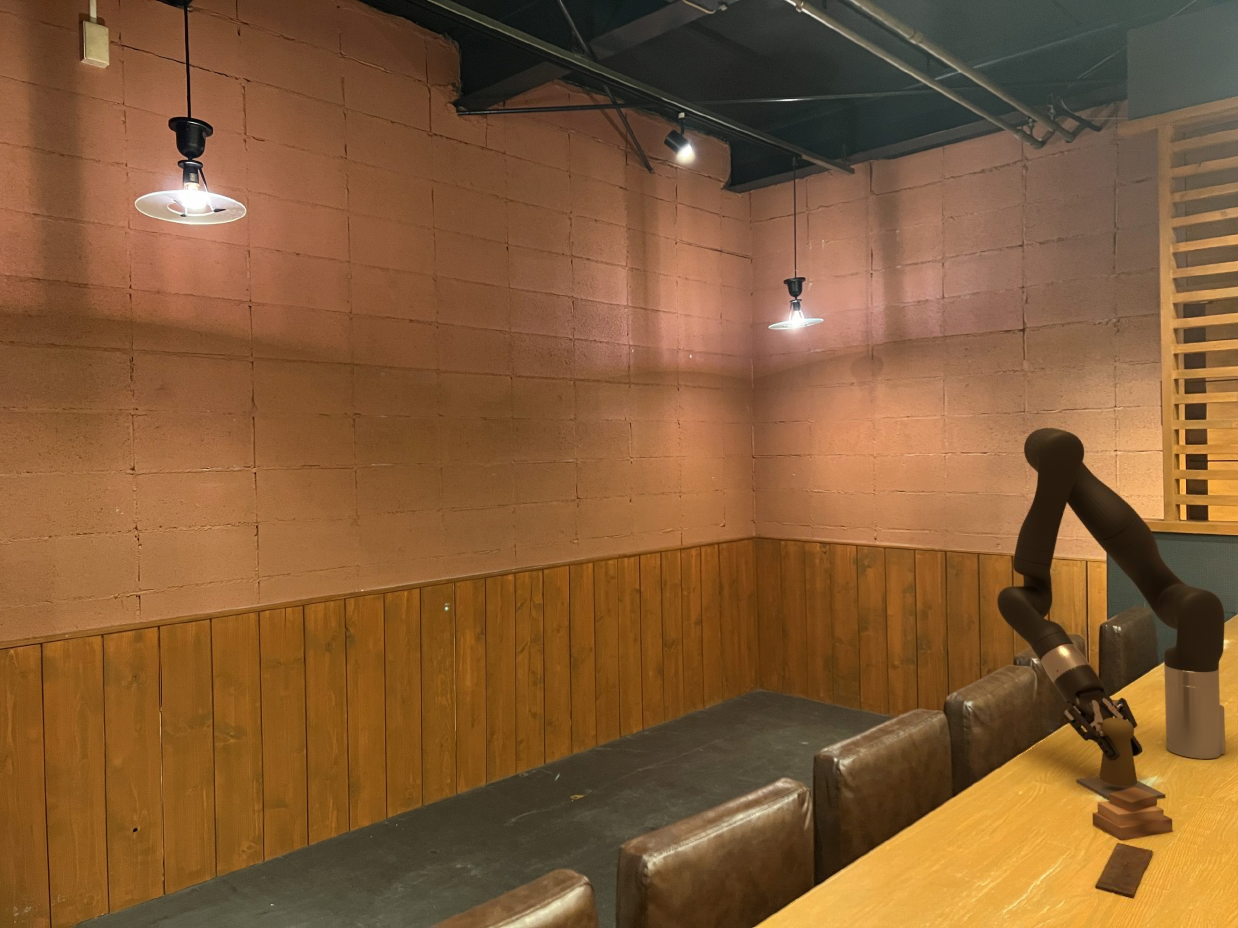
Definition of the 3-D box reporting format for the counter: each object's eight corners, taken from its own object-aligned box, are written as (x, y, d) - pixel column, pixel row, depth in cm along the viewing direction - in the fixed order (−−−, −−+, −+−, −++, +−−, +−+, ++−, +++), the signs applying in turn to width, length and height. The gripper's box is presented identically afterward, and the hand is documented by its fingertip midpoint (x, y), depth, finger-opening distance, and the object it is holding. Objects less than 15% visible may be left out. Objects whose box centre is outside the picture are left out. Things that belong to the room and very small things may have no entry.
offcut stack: (1142, 816, 149) (1141, 784, 149) (1173, 831, 143) (1172, 798, 143) (1092, 824, 147) (1091, 792, 147) (1122, 840, 141) (1121, 806, 141)
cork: (1133, 774, 163) (1132, 715, 162) (1141, 787, 157) (1140, 726, 156) (1096, 771, 164) (1095, 713, 164) (1102, 784, 159) (1101, 723, 158)
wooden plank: (1116, 840, 140) (1153, 846, 136) (1117, 848, 140) (1153, 854, 136) (1094, 885, 127) (1134, 893, 124) (1095, 894, 127) (1135, 902, 124)
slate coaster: (1124, 776, 166) (1124, 773, 166) (1165, 797, 156) (1165, 794, 156) (1076, 782, 165) (1076, 778, 165) (1114, 803, 155) (1114, 800, 155)
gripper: (1052, 667, 165) (1109, 752, 154) (1111, 658, 169) (1169, 740, 158) (1031, 688, 170) (1084, 771, 159) (1088, 679, 175) (1144, 759, 164)
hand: (1126, 755), depth 159 cm, fingers closed on cork, 4 cm apart
